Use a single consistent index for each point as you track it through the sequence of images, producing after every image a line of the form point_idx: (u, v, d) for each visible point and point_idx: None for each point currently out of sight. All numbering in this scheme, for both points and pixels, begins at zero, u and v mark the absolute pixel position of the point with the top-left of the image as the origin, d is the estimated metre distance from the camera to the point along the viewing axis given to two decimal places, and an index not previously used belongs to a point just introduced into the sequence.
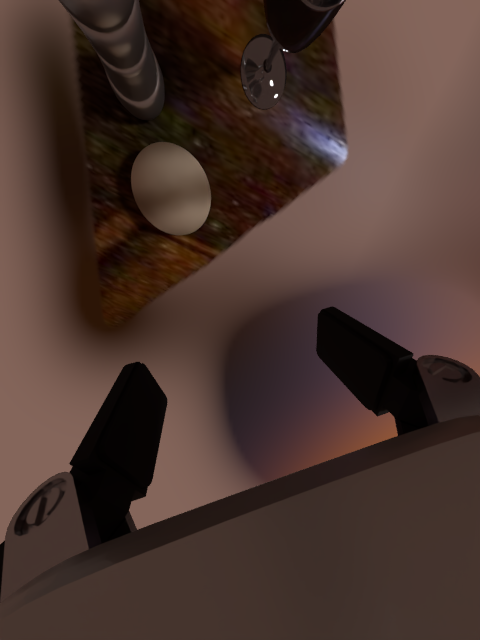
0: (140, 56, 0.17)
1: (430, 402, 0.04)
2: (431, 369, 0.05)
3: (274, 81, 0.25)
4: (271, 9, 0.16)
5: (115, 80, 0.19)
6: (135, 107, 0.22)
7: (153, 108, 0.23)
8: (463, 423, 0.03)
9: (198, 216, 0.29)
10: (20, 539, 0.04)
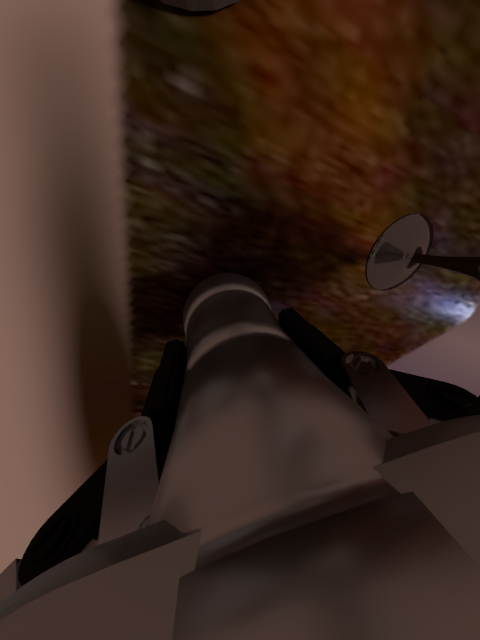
0: None
1: None
2: (353, 365, 0.06)
3: (414, 264, 0.17)
4: None
5: None
6: None
7: None
8: (463, 423, 0.03)
9: None
10: (122, 457, 0.05)
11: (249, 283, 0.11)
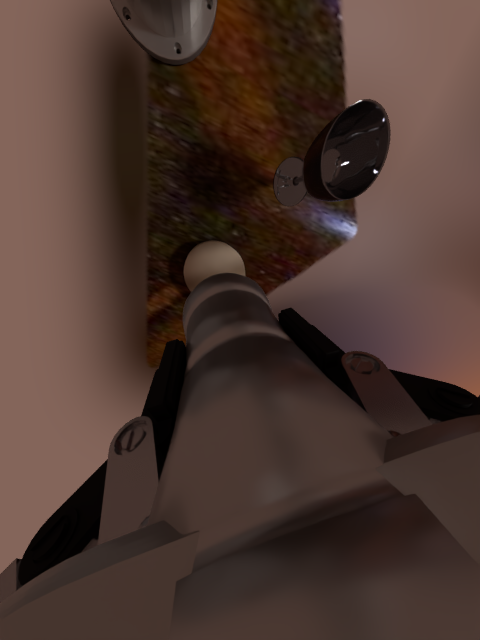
0: None
1: None
2: (352, 365, 0.06)
3: (300, 188, 0.31)
4: (309, 186, 0.22)
5: None
6: None
7: None
8: (463, 423, 0.03)
9: None
10: (122, 457, 0.05)
11: (249, 283, 0.11)
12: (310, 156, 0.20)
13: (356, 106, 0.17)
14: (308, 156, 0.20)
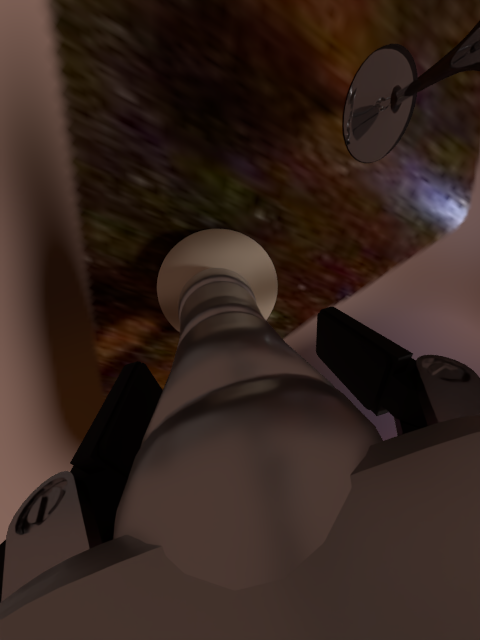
0: None
1: (429, 402, 0.04)
2: (430, 369, 0.05)
3: (396, 121, 0.15)
4: None
5: None
6: None
7: None
8: (464, 423, 0.03)
9: None
10: (21, 538, 0.04)
11: (234, 276, 0.13)
12: None
13: None
14: None
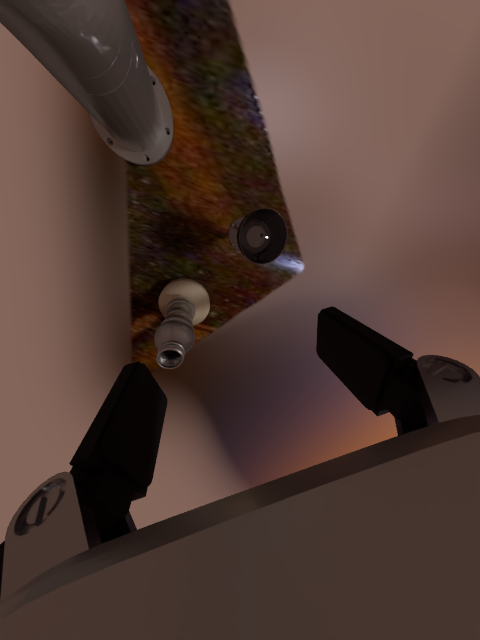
0: None
1: (430, 402, 0.04)
2: (431, 369, 0.05)
3: None
4: None
5: None
6: None
7: None
8: (463, 423, 0.03)
9: (201, 315, 0.44)
10: (20, 539, 0.04)
11: (185, 299, 0.37)
12: None
13: (260, 209, 0.26)
14: None
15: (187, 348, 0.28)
